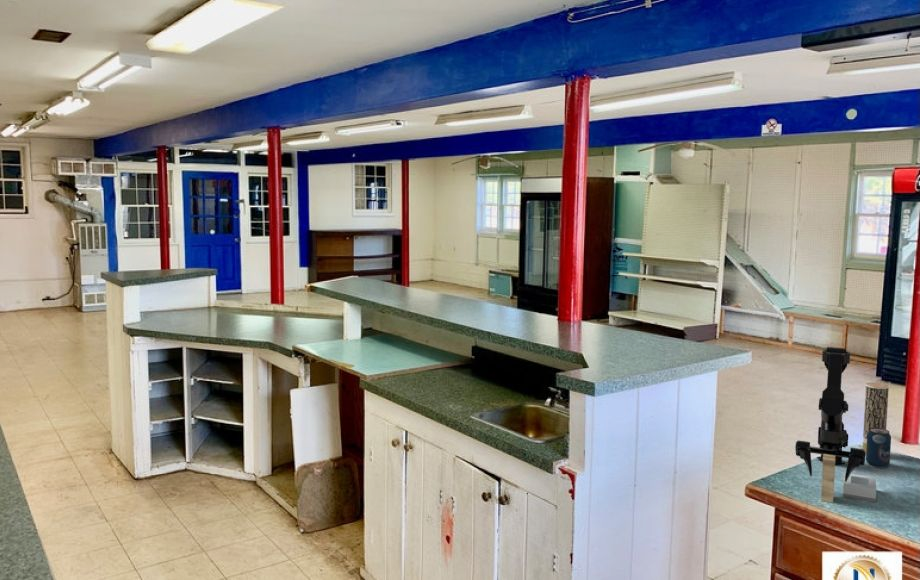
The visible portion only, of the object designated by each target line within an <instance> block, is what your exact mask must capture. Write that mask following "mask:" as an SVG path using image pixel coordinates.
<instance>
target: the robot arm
mask: <svg viewBox="0 0 920 580" xmlns="http://www.w3.org/2000/svg"><path fill="white" fill-rule="evenodd" d="M821 355H822V356H821V358H822V359H821V362H823V363H824V366H825V368H826V370H827V378H826V382H827V383H826V388H824V389H823V390H822V393H821V397H819V400H818V411H820V415H821V416H820V417H821V418H820V420H821V422H820V426H818V429H817V431H818V432H817V445H818V446H819V447H818V446H812V445H811V442H810V441H805V440H797V441H795V447H794V449H795V450H794V451H795V456H797V457H799V458H800V459H802V460H803V461H804V463H805V465H806V467H807V471H808V474H809V476H810V477H812V476H813V468H812V467H813V466H812V456H811V454H816V455H817V454H818V455H820V456H817V457H816V459H817V458H818V459H817V460H819V461H820V462H822V463H823V454H827V455H834V456H835V465H845V464H846V461H844V460H843V458H846V459H848V460H847V465H846V469H845V473H846V474H845V482H847V480H848V478H849V476H850V474H852V472H853V471H854V470H855V469H856V468H860V466H865V464H866V463H865V462H866V454H865V451H864V449H863V448H857V447H850V451H847V450H843V448H844V449H845V448H847V447H849V434H848V430H847V429H845V424H844V422H843V415H844V414H846V413H847V412H849V404H848V402H847V400H845V393H844V391H843V390H842V379H843V378H842V376H843V373H844V372H845V370H846V369H847V368H848V365H849V364H850V363H851V361H850V360H851V351H847V348H844V347H833V346H832V347H830V346H827V347H826V349H822V353H821Z"/></svg>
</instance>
